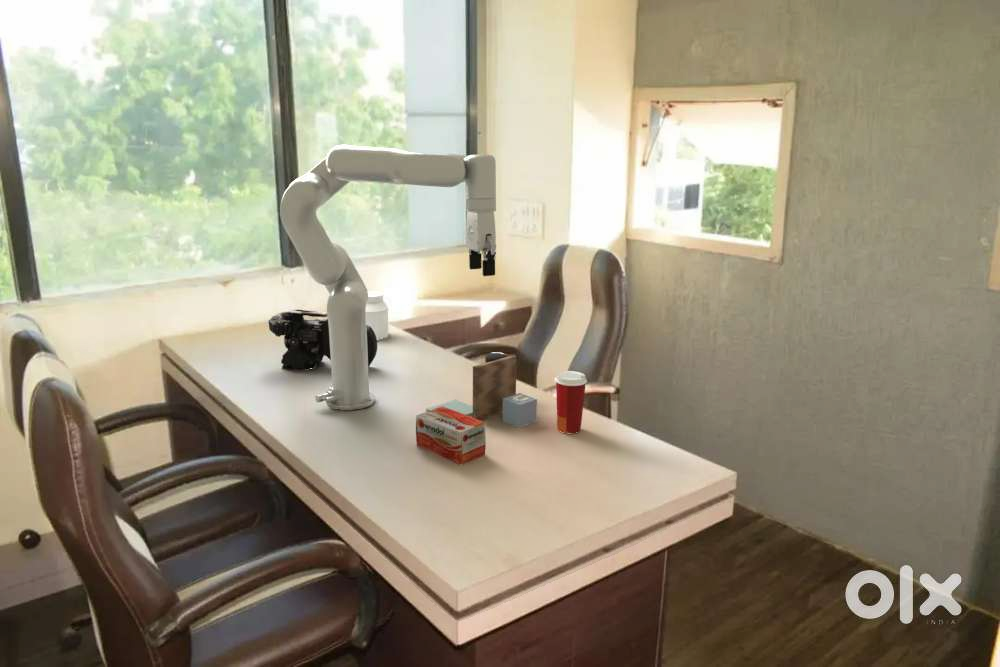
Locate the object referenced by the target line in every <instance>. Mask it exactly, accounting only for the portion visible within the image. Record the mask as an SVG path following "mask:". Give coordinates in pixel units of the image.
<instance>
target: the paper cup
mask: <svg viewBox="0 0 1000 667" xmlns="http://www.w3.org/2000/svg"><path fill="white" fill-rule="evenodd" d="M586 377H587V376H586V375H585V374H584V373H582V372H580V371H573V370H565V371H560V372H559V373H557V374H556V376H555V378H554V382H555V385H556V387H555V389H556V390H555V391H556V424H557V431H558V430H559V431H561V432H564V433H576V432H579V431H580V432H581V429H582V428H581V427H582V421H583V411H584V404H585V394H586V383H588V379H587V378H586ZM559 431H558V432H559ZM561 432H560V433H561ZM580 432H579V433H580ZM564 433H563V434H564ZM576 434H577V433H576Z"/></svg>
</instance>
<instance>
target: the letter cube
mask: <svg viewBox="0 0 1000 667" xmlns="http://www.w3.org/2000/svg"><path fill="white" fill-rule="evenodd" d="M537 409H538V399H537V398H534V397H531V396H529V395H526V394H523V393H519V392H518V393H516V394H515V395H512V396H509V397H506V398H503V412H502V420H501V422H504V423H507V424H509V423H510V424H509V425H512V426H514V425H515V427H516V426H517V428H519V427H520V428H522V427H521V426H523V427H525V426H527V425H526V424H528V425H530V424H529V423H531V424H533V423H532V422H534V423H536V422H537V417H538V416H537V412H538V410H537ZM535 421H536V422H535ZM524 425H525V426H524Z"/></svg>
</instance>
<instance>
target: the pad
mask: <svg viewBox="0 0 1000 667" xmlns="http://www.w3.org/2000/svg"><path fill="white" fill-rule="evenodd" d="M441 406H443V407H446V408H448V409H451V410H454V411H457V412H459V413H462V414H465V415H468V416H470V417H471V416H472V413H473V405H471V404H468V403H465V402H463V401H460V400H459V399H454V400H449V401H447V402H444V403H440V404H436V405H434V406H431V407H427V408H425V412H427V411H430V410H433V409H436V408H438V407H441Z"/></svg>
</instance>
